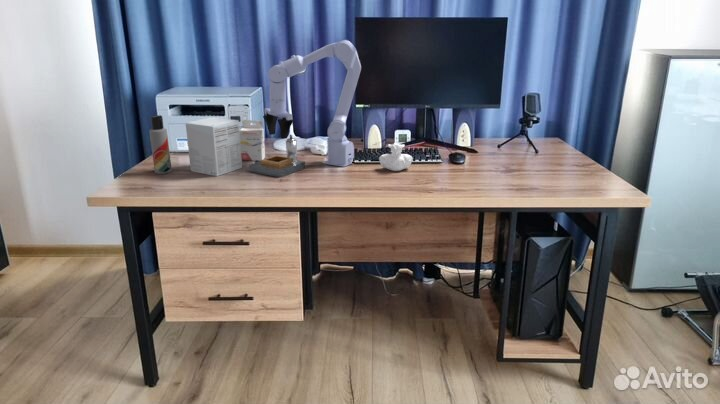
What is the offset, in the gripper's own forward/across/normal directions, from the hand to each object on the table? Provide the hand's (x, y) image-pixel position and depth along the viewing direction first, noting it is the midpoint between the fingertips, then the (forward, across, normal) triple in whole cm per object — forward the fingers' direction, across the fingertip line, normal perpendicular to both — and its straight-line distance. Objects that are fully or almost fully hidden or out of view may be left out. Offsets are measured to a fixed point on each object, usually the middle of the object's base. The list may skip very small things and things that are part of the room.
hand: (278, 136), depth 199 cm
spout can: (+10, +2, +5) cm, 11 cm away
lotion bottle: (+12, -17, -37) cm, 42 cm away
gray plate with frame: (+10, +7, -6) cm, 14 cm away
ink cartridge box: (+11, -11, -4) cm, 16 cm away
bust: (+8, +37, +24) cm, 45 cm away
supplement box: (+11, -7, -22) cm, 25 cm away
